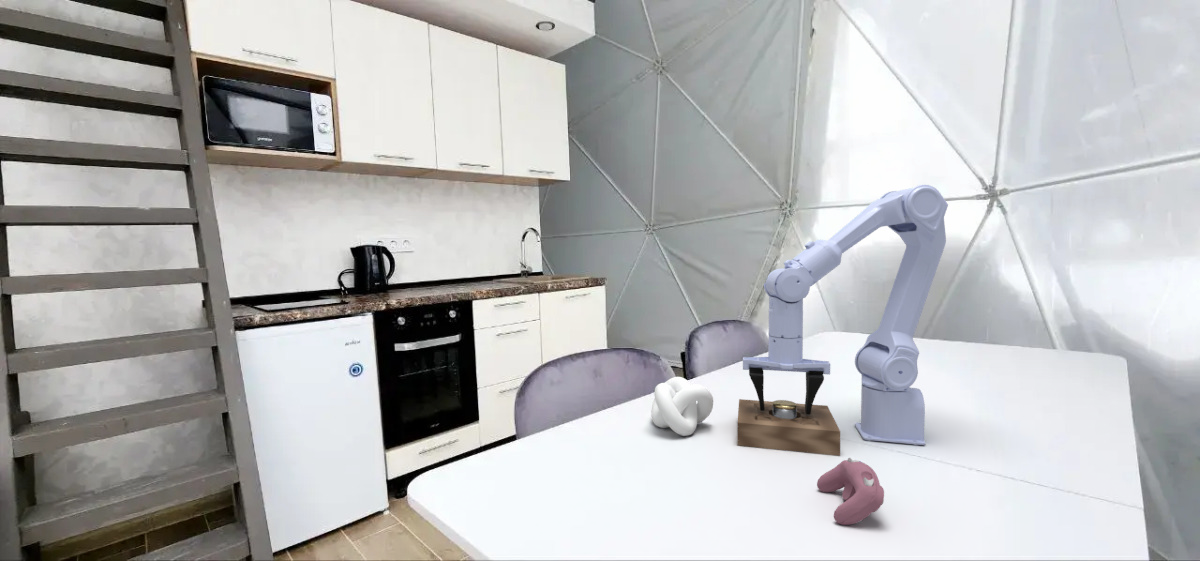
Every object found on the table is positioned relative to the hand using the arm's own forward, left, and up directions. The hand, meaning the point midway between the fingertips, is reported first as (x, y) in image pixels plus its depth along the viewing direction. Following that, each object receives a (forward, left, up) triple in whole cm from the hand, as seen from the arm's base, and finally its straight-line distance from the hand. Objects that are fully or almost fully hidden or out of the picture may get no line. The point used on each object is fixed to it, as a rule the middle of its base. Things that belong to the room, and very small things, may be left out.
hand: (784, 410), depth 88 cm
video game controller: (-6, +24, -5) cm, 26 cm away
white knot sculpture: (+18, +1, -5) cm, 19 cm away
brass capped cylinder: (0, 0, -4) cm, 5 cm away
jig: (0, 0, -4) cm, 4 cm away
